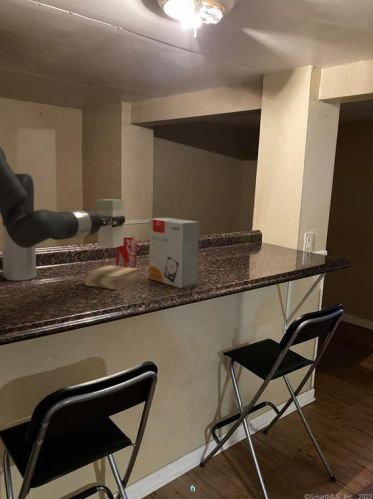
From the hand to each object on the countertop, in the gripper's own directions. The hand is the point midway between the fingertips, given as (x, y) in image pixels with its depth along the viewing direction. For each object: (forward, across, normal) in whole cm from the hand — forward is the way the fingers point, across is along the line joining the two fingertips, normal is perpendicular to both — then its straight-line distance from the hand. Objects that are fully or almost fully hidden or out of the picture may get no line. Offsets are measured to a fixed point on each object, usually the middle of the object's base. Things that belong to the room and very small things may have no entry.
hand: (115, 219), depth 121 cm
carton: (-3, 0, +8) cm, 8 cm away
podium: (-2, 0, +20) cm, 20 cm away
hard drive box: (+8, -16, +20) cm, 27 cm away
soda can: (+12, +4, +20) cm, 24 cm away
